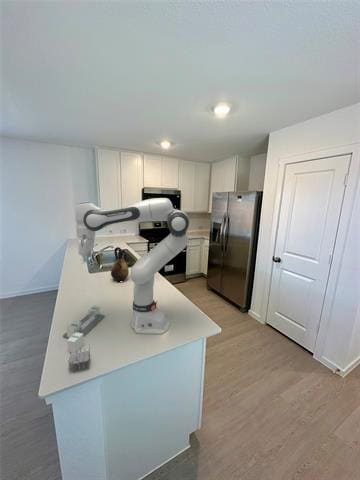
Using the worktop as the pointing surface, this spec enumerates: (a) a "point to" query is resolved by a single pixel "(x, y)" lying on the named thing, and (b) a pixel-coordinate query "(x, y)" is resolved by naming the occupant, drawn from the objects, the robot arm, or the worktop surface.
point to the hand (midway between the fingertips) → (87, 259)
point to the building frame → (82, 358)
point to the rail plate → (85, 323)
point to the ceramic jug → (119, 266)
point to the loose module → (75, 342)
